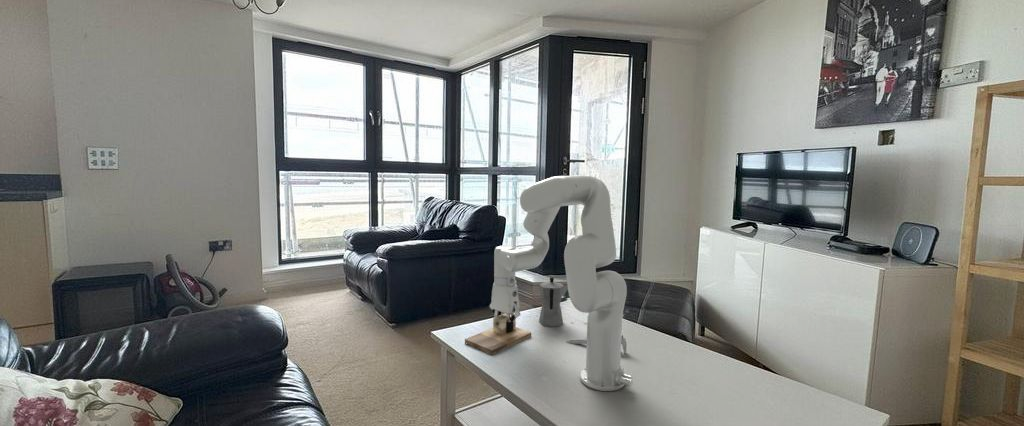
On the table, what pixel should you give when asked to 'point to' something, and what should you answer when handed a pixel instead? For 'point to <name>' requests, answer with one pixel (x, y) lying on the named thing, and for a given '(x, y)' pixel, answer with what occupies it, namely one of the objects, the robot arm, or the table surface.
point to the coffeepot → (551, 303)
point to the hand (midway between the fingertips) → (504, 329)
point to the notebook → (497, 340)
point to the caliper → (584, 341)
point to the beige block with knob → (501, 324)
